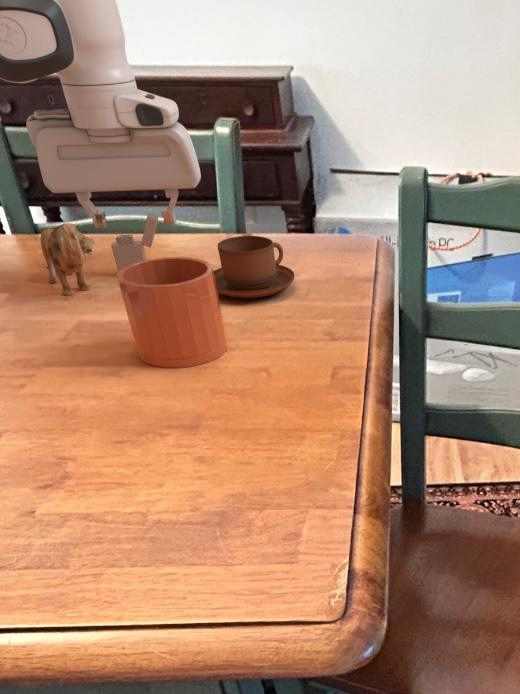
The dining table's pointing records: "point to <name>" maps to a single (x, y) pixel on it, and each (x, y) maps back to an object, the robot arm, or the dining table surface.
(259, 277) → the cup and saucer
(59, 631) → the dining table surface
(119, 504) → the dining table surface
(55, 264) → the lion figurine
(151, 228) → the lighter
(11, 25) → the robot arm
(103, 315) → the dining table surface
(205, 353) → the terracotta-colored cup
